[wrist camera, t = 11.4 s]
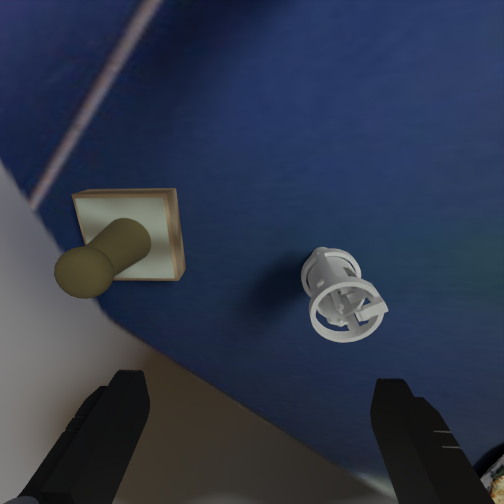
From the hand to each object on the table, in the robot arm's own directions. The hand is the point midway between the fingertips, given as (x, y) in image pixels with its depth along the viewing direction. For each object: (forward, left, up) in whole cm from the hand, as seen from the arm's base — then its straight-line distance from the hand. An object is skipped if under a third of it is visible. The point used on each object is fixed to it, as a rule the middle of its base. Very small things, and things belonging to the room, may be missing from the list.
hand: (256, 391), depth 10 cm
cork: (+4, -18, -26) cm, 32 cm away
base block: (+4, -18, -30) cm, 35 cm away
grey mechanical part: (+8, +8, -30) cm, 32 cm away
